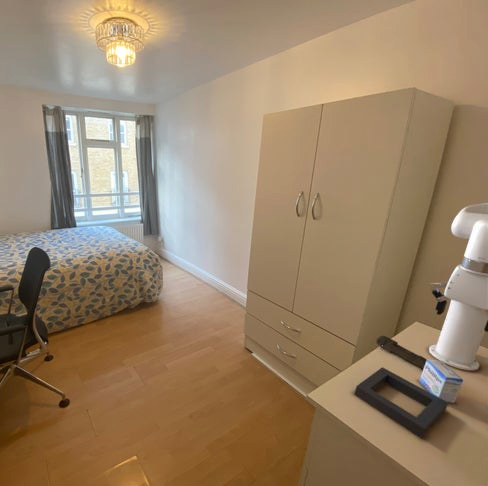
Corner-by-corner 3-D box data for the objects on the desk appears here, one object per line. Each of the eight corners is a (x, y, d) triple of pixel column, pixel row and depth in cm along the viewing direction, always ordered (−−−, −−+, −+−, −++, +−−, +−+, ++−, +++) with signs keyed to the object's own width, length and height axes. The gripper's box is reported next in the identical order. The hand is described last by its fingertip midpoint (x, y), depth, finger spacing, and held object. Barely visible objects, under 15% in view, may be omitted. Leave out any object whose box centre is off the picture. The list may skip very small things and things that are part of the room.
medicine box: (418, 381, 88) (425, 358, 86) (434, 382, 88) (442, 360, 85) (437, 401, 81) (446, 377, 79) (455, 403, 80) (464, 379, 78)
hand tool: (441, 375, 91) (445, 363, 89) (434, 378, 89) (438, 367, 88) (380, 342, 108) (383, 331, 106) (373, 344, 106) (376, 334, 105)
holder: (380, 375, 91) (382, 367, 90) (445, 411, 78) (448, 402, 77) (354, 394, 83) (356, 385, 83) (421, 438, 70) (424, 429, 69)
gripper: (538, 273, 68) (512, 333, 73) (444, 254, 82) (428, 304, 87) (530, 280, 64) (504, 342, 69) (433, 258, 79) (418, 311, 84)
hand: (462, 321), depth 78 cm, fingers open, 9 cm apart
